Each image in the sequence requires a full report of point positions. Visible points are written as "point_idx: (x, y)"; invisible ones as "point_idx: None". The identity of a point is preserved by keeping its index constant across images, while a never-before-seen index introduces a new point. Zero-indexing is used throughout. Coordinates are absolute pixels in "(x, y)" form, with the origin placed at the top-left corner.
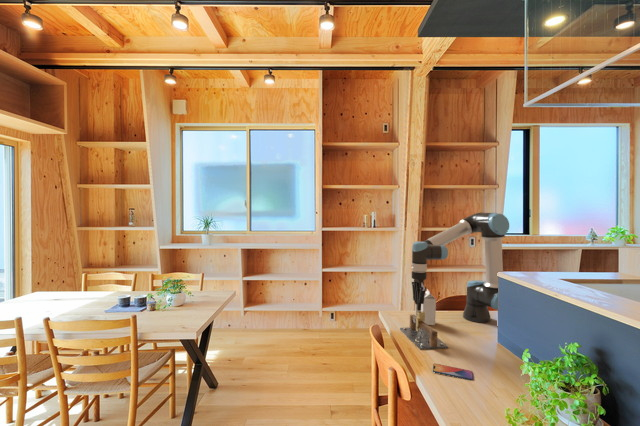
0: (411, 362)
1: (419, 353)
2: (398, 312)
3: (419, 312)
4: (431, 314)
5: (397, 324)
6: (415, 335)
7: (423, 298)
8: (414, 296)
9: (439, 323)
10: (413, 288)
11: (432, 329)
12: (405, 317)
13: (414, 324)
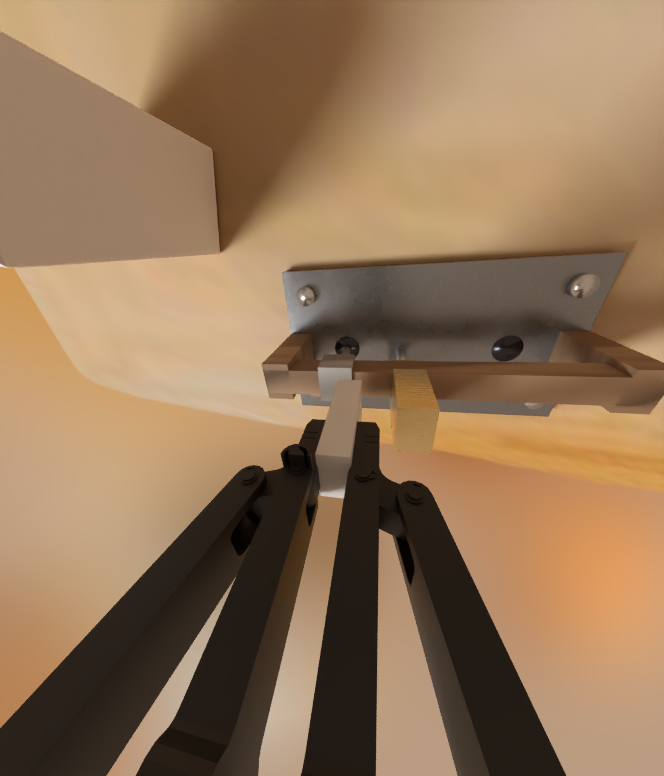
0: (632, 483)
1: (578, 428)
2: (67, 319)
3: (420, 448)
4: (157, 166)
5: (242, 386)
6: None
7: (476, 601)
8: (246, 550)
9: (155, 73)
10: (135, 728)
11: (604, 383)
12: (129, 311)
13: (306, 354)
